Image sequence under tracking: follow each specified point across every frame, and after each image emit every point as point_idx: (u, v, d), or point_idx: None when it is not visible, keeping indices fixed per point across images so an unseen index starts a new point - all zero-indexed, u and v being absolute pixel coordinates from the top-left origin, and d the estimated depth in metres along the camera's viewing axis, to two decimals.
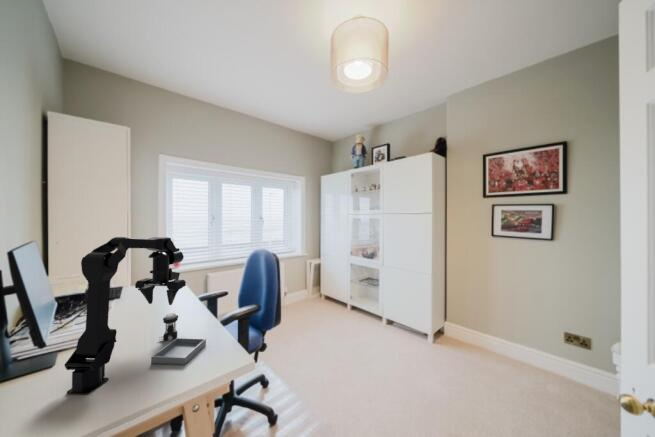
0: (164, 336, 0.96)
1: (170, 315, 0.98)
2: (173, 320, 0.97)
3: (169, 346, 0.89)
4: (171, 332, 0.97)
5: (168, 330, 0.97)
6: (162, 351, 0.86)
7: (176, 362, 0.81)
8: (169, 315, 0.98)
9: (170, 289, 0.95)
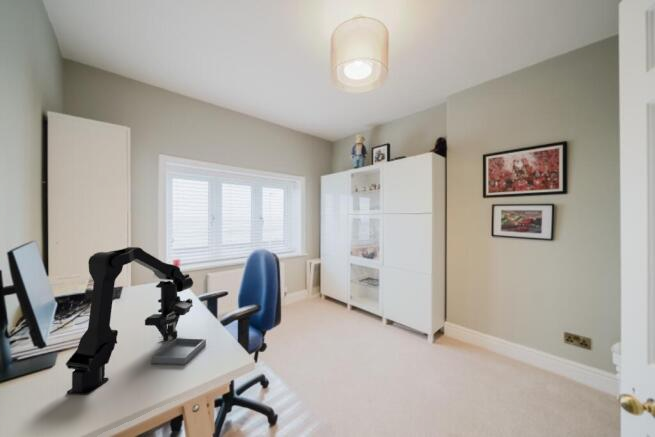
0: (164, 336, 0.96)
1: (169, 315, 0.98)
2: (173, 320, 0.97)
3: (169, 346, 0.89)
4: (171, 332, 0.97)
5: (168, 330, 0.97)
6: (162, 351, 0.86)
7: (176, 362, 0.81)
8: (168, 315, 0.98)
9: None
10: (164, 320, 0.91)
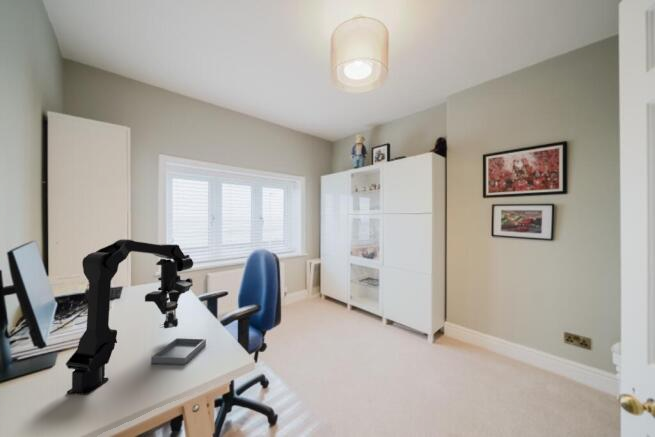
0: (164, 324, 0.96)
1: (170, 303, 0.98)
2: (173, 308, 0.97)
3: (169, 346, 0.89)
4: (171, 320, 0.97)
5: (168, 318, 0.97)
6: (162, 351, 0.86)
7: (176, 362, 0.81)
8: (169, 303, 0.98)
9: None
10: (164, 297, 0.91)
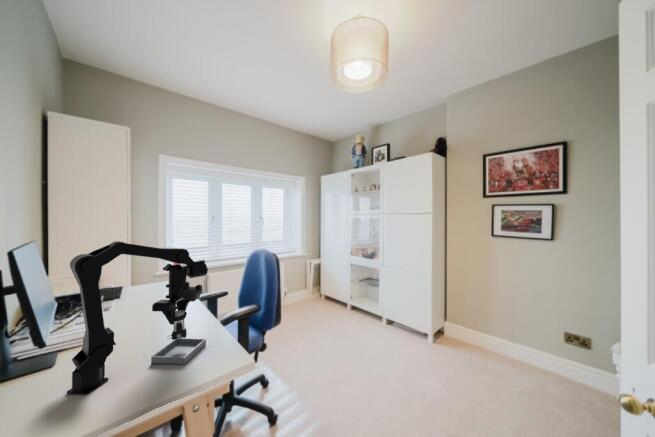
0: (172, 335, 0.89)
1: (178, 312, 0.90)
2: (182, 317, 0.89)
3: (169, 346, 0.89)
4: (180, 330, 0.90)
5: (176, 328, 0.89)
6: (162, 351, 0.86)
7: (176, 362, 0.81)
8: (177, 312, 0.90)
9: None
10: (173, 306, 0.84)
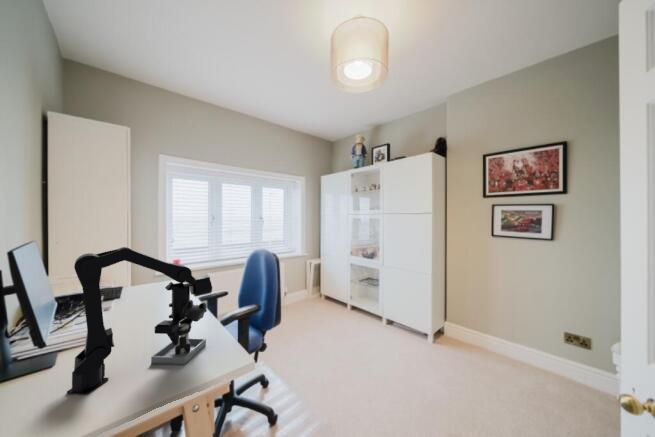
0: (176, 349, 0.86)
1: (182, 325, 0.87)
2: (186, 331, 0.86)
3: (169, 346, 0.89)
4: (184, 345, 0.87)
5: (180, 342, 0.87)
6: (162, 351, 0.86)
7: (176, 362, 0.81)
8: (181, 325, 0.87)
9: None
10: (176, 327, 0.81)
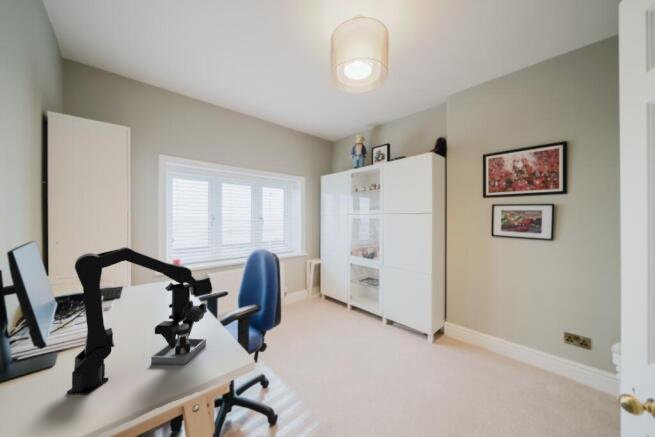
0: (176, 349, 0.86)
1: (182, 325, 0.88)
2: (186, 331, 0.87)
3: (169, 346, 0.89)
4: (184, 344, 0.87)
5: (180, 342, 0.87)
6: (162, 351, 0.86)
7: (176, 362, 0.81)
8: (181, 325, 0.88)
9: None
10: (176, 328, 0.81)
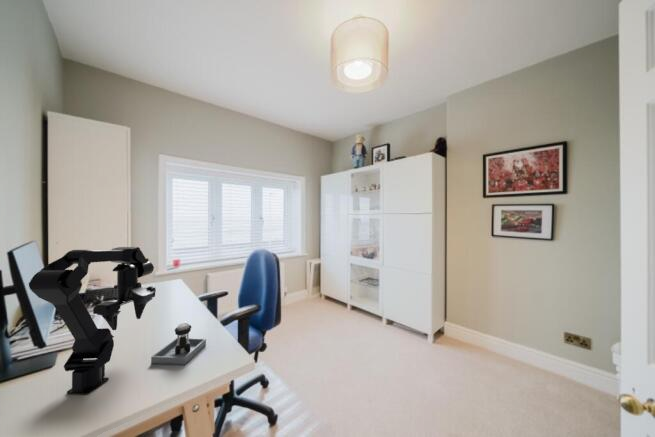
0: (176, 349, 0.86)
1: (182, 325, 0.88)
2: (186, 331, 0.87)
3: (169, 346, 0.89)
4: (184, 344, 0.87)
5: (180, 342, 0.87)
6: (162, 351, 0.86)
7: (176, 362, 0.81)
8: (181, 325, 0.88)
9: None
10: (116, 308, 0.79)
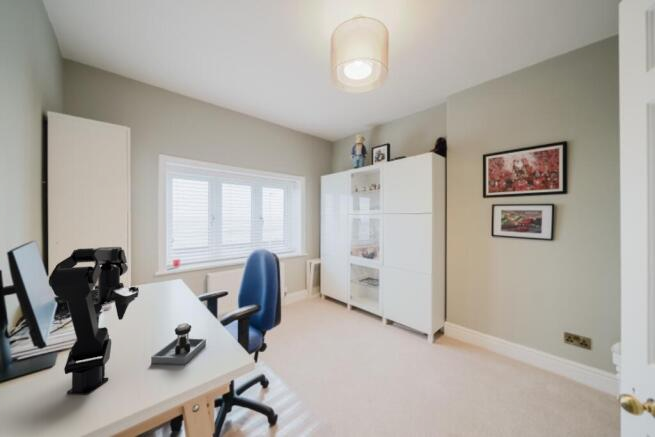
0: (176, 349, 0.86)
1: (182, 325, 0.88)
2: (186, 331, 0.87)
3: (169, 346, 0.89)
4: (184, 344, 0.87)
5: (180, 342, 0.87)
6: (162, 351, 0.86)
7: (176, 362, 0.81)
8: (181, 325, 0.88)
9: None
10: (98, 309, 0.78)
